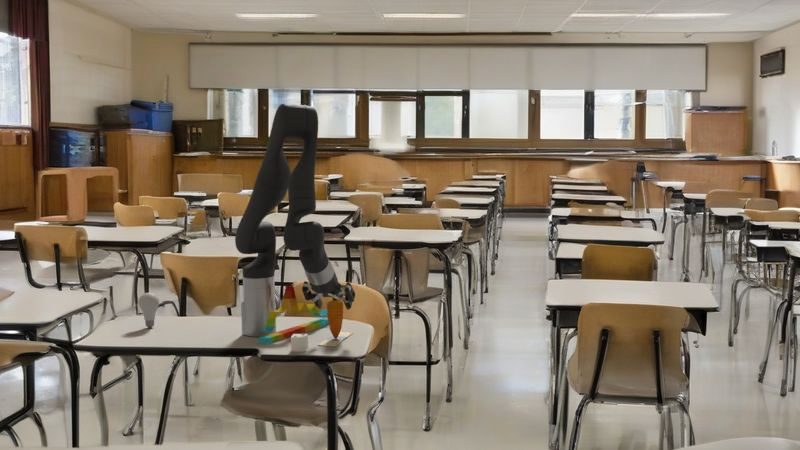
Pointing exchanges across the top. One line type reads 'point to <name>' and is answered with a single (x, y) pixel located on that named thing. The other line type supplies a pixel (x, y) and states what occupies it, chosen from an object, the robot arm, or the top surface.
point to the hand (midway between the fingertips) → (334, 306)
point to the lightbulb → (149, 307)
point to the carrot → (335, 315)
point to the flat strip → (332, 341)
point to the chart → (296, 307)
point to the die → (299, 342)
